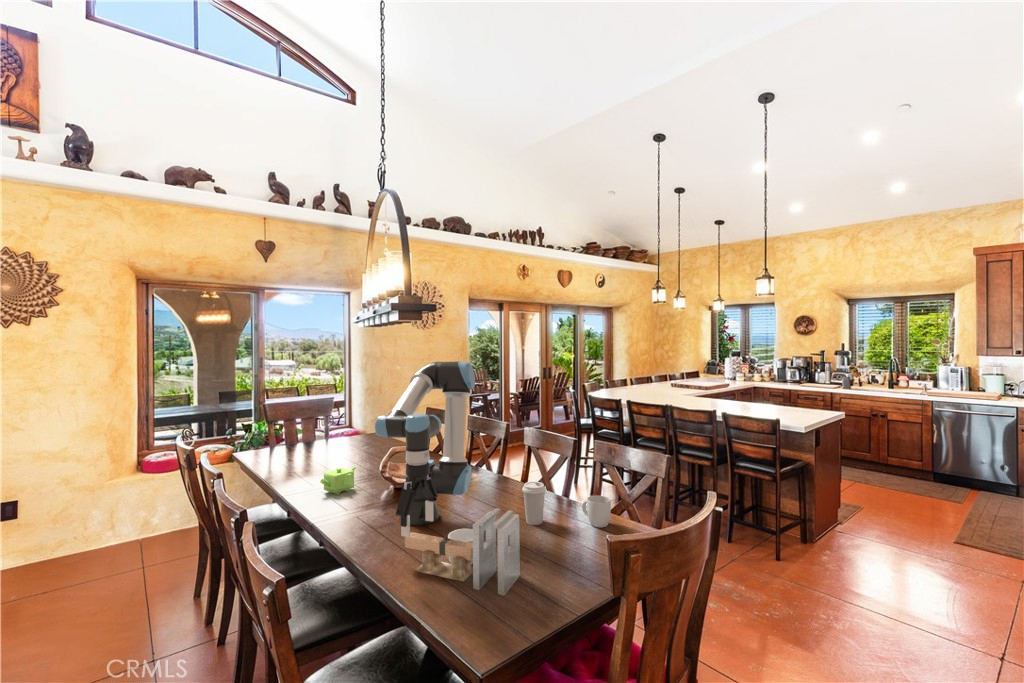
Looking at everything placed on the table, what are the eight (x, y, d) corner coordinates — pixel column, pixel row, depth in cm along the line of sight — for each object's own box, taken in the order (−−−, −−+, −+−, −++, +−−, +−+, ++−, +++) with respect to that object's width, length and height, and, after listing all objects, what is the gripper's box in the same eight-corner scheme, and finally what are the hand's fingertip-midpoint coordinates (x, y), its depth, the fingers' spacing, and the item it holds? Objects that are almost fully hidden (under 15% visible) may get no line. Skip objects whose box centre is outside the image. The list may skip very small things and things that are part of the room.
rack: (416, 571, 148) (416, 552, 148) (428, 561, 155) (428, 543, 155) (463, 581, 142) (463, 561, 142) (474, 570, 148) (474, 552, 148)
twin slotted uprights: (473, 588, 138) (472, 521, 137) (490, 569, 149) (490, 507, 149) (504, 595, 134) (503, 526, 134) (519, 575, 145) (519, 511, 145)
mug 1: (466, 569, 149) (466, 544, 149) (441, 561, 155) (441, 537, 155) (490, 553, 160) (490, 529, 160) (466, 546, 166) (466, 523, 166)
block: (404, 547, 152) (404, 536, 152) (411, 543, 155) (411, 531, 155) (470, 560, 143) (470, 548, 142) (476, 555, 146) (476, 543, 146)
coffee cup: (544, 527, 181) (544, 489, 181) (520, 525, 183) (520, 487, 183) (547, 518, 191) (547, 481, 191) (524, 516, 193) (524, 480, 193)
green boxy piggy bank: (357, 485, 235) (357, 463, 235) (353, 495, 221) (353, 471, 221) (326, 487, 232) (325, 465, 232) (320, 497, 218) (319, 473, 218)
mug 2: (615, 524, 183) (615, 499, 183) (601, 531, 178) (600, 505, 177) (590, 515, 193) (589, 491, 193) (575, 521, 187) (575, 496, 187)
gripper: (404, 473, 139) (404, 545, 139) (447, 455, 162) (447, 516, 162) (383, 471, 142) (384, 541, 141) (428, 453, 165) (429, 513, 164)
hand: (418, 528), depth 152 cm, fingers open, 13 cm apart
